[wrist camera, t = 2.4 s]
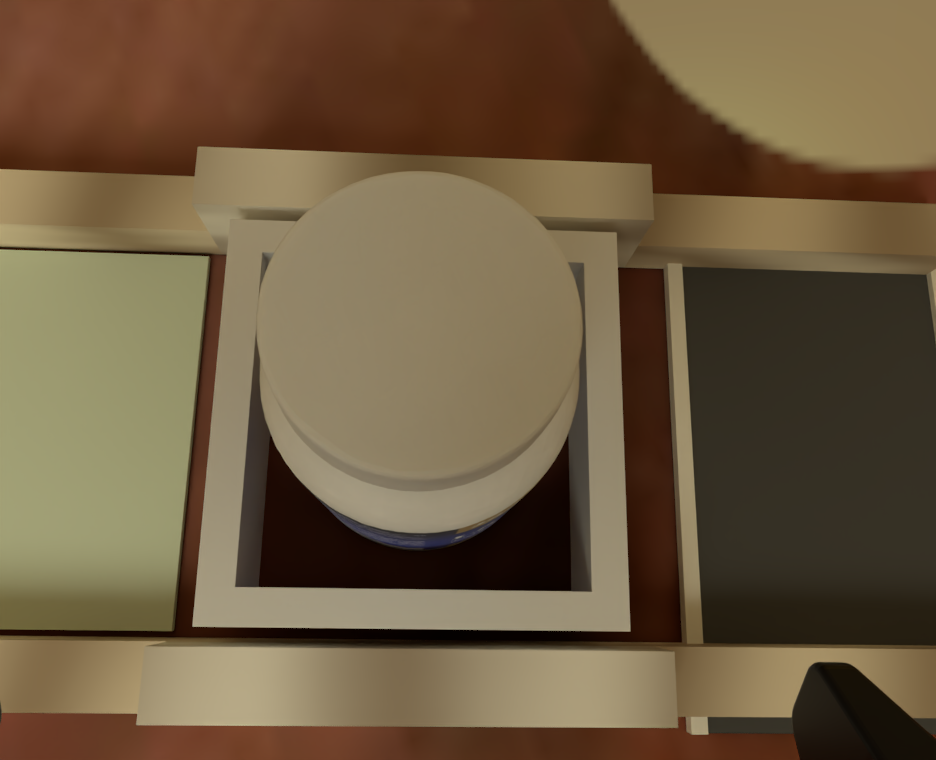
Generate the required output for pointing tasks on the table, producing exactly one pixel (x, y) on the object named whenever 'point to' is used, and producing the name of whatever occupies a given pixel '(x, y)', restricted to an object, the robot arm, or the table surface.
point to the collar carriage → (247, 605)
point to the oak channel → (448, 661)
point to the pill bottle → (419, 355)
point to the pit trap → (803, 460)
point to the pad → (96, 435)
